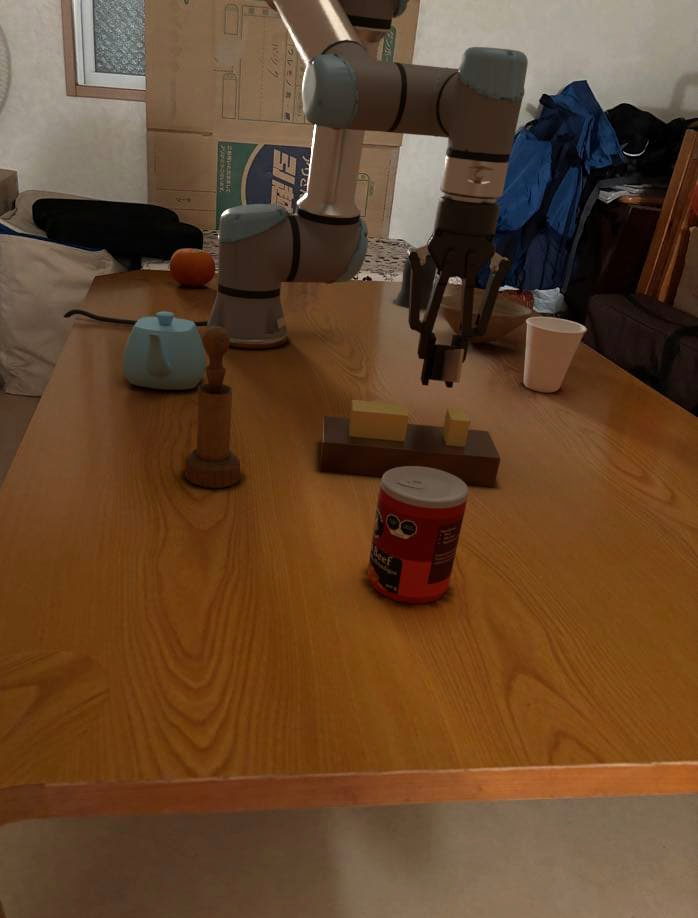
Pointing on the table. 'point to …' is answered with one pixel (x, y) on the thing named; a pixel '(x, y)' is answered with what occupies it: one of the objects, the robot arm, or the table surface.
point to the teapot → (164, 353)
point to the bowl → (501, 319)
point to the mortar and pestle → (213, 421)
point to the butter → (378, 420)
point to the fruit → (192, 267)
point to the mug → (426, 284)
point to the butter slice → (456, 427)
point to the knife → (446, 363)
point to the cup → (549, 351)
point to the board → (408, 453)
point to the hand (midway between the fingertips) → (436, 383)
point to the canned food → (416, 533)
